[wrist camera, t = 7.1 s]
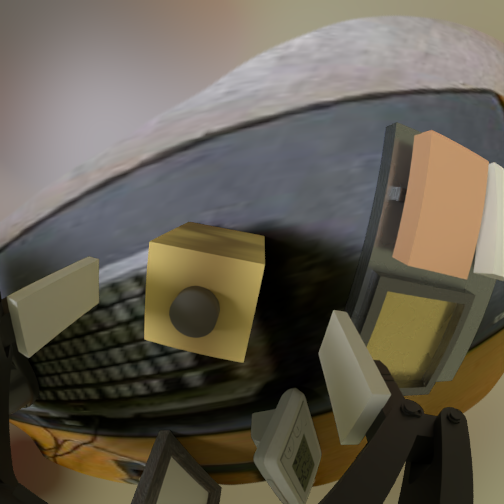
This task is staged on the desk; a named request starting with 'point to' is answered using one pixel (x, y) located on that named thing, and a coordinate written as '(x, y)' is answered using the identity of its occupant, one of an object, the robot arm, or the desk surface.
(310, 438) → the digital clock
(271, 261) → the desk surface
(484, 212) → the rocker plain
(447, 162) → the orange tan rectangular block
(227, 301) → the tan wooden block
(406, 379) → the panel
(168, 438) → the picture frame
